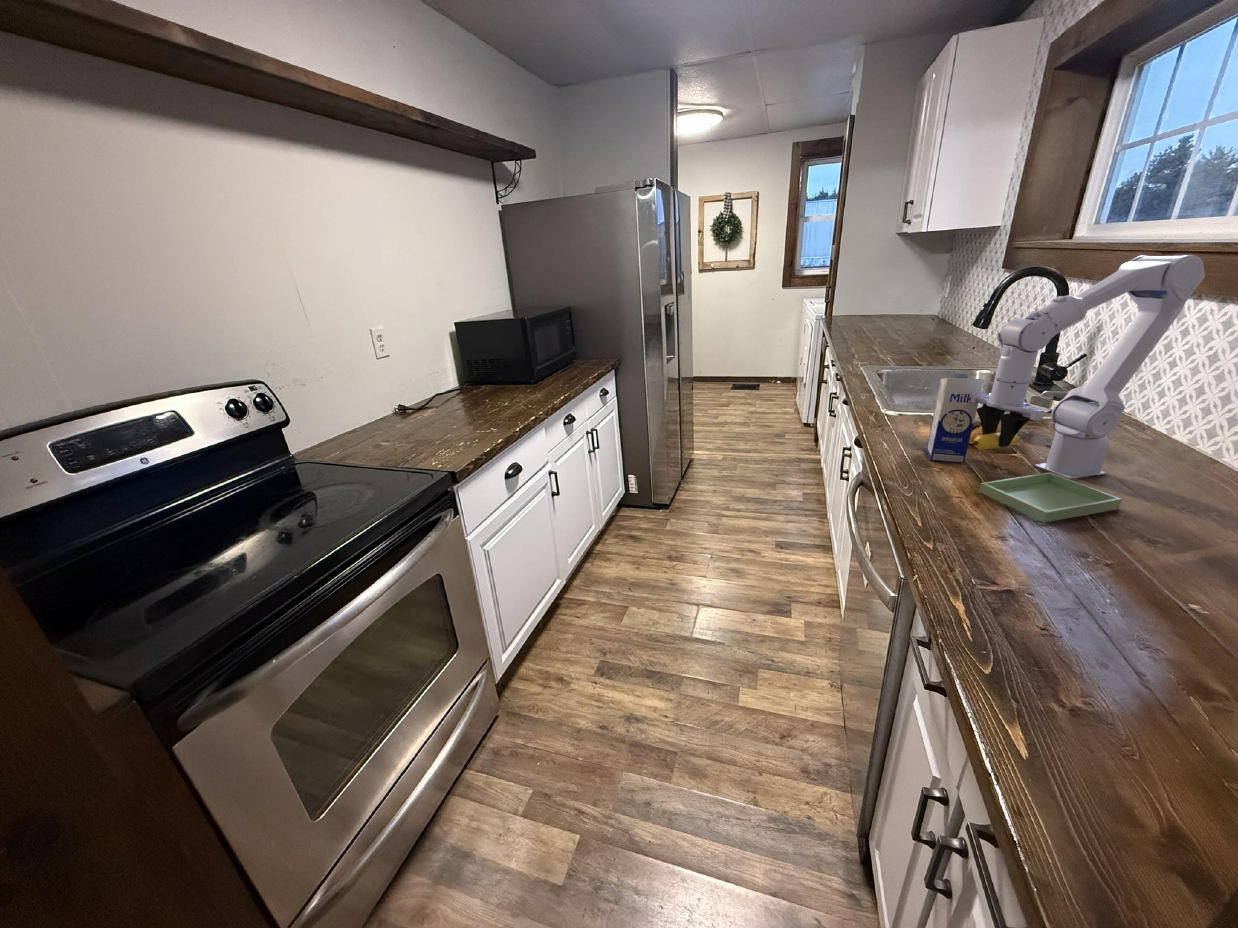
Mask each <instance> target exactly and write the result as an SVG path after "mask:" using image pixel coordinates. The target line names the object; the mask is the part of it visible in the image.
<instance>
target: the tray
mask: <svg viewBox="0 0 1238 928" xmlns="http://www.w3.org/2000/svg"><path fill="white" fill-rule="evenodd" d="M978 493H980V494H982V495H984V496H986V497H988V498H991V499H993V500H995V501H996V502H999V503H1001V504H1003V505H1005V506H1007V507H1010V508H1012V509H1013V510H1016V511H1018V512H1020V513H1023V514H1024V515H1027V516H1029V517H1030V518H1032V519H1035V520H1036V521H1037V520H1038V521H1039V522H1040V523H1044V524H1045V523H1049V522H1055V521H1060V520H1066V519H1071V518H1077V517H1082V516H1088V515H1093V514H1099V513H1104V512H1110V511H1115V510H1119V509H1120V507H1121V504H1122V501H1123V498H1120V497H1118V496H1116V495H1112V494H1109V493H1107V492H1105V491H1102V490H1099V489H1096V488H1095V487H1091V486H1088V485H1086V484H1083V483H1081V482H1078V481H1075V480H1072V479H1071V478H1068V477H1065V476H1063V475H1060V474H1057V473H1054V472H1052V471H1049V472H1041V473H1035V474H1030V475H1023V476H1017V477H1010V478H1005V479H997V480H992V481H986V482H985V481H984V482H980V486H979V489H978Z"/></svg>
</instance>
